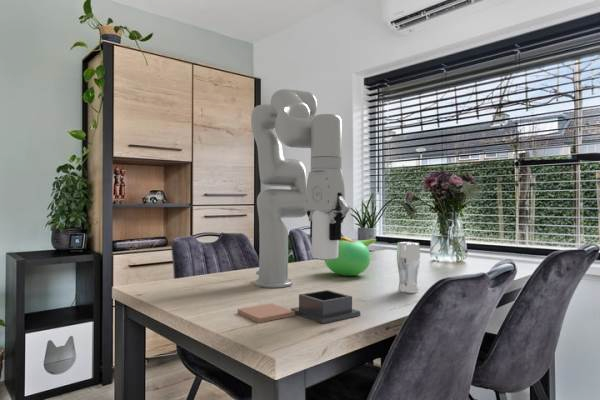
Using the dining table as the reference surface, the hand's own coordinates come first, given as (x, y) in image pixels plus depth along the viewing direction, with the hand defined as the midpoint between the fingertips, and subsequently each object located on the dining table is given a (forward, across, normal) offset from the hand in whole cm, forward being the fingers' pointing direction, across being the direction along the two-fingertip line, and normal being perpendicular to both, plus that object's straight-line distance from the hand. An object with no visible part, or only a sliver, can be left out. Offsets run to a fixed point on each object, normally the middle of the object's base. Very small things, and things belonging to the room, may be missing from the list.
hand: (325, 238), depth 101 cm
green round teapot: (+19, -36, +43) cm, 60 cm away
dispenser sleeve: (+18, 0, 0) cm, 18 cm away
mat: (+18, -8, -12) cm, 23 cm away
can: (+5, 0, 0) cm, 5 cm away
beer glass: (+19, -4, +38) cm, 43 cm away
